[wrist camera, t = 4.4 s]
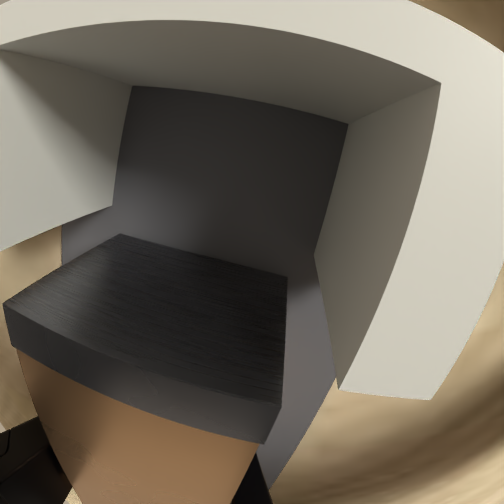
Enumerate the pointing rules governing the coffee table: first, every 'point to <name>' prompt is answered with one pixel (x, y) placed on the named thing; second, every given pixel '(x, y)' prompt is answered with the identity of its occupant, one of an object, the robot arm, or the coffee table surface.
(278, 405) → the tan wooden block
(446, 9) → the coffee table surface
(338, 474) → the coffee table surface
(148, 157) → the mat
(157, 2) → the socket
